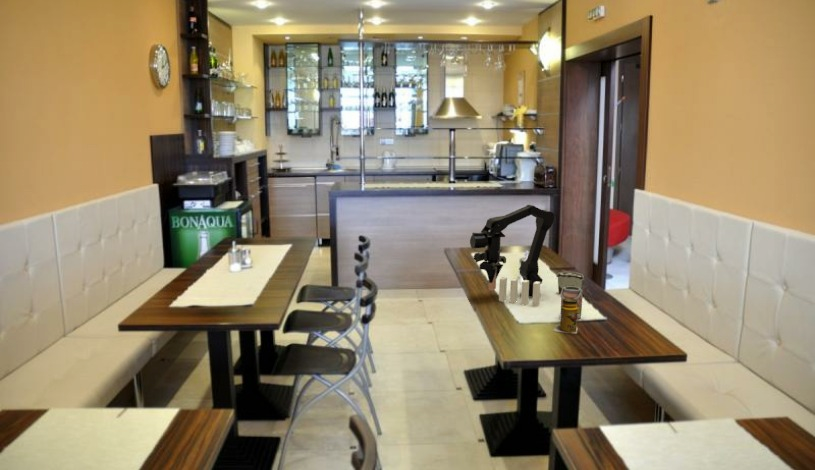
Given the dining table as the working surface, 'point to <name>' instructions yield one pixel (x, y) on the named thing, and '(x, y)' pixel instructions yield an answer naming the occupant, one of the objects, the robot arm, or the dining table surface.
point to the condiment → (568, 317)
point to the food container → (569, 280)
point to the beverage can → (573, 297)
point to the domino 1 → (492, 284)
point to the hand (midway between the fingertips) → (492, 281)
